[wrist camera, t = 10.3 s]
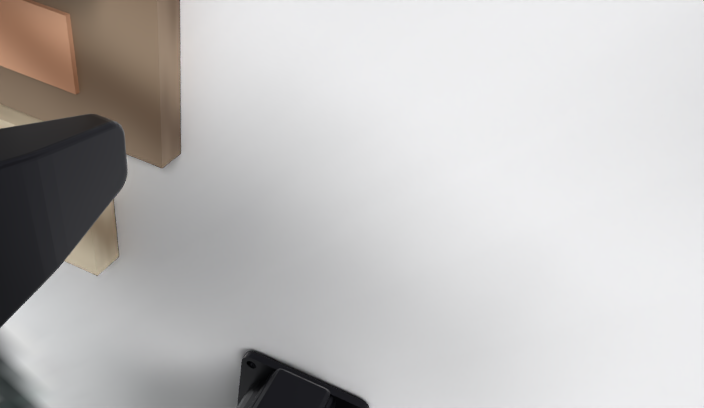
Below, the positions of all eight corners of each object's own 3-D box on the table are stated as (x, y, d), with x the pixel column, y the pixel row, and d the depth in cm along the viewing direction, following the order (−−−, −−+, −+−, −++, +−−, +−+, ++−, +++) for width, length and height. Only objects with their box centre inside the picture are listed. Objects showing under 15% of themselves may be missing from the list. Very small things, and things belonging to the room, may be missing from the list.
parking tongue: (118, 256, 29) (97, 275, 28) (2, 205, 30) (-24, 221, 29) (107, 134, 24) (81, 151, 23) (-29, 81, 26) (-60, 94, 25)
